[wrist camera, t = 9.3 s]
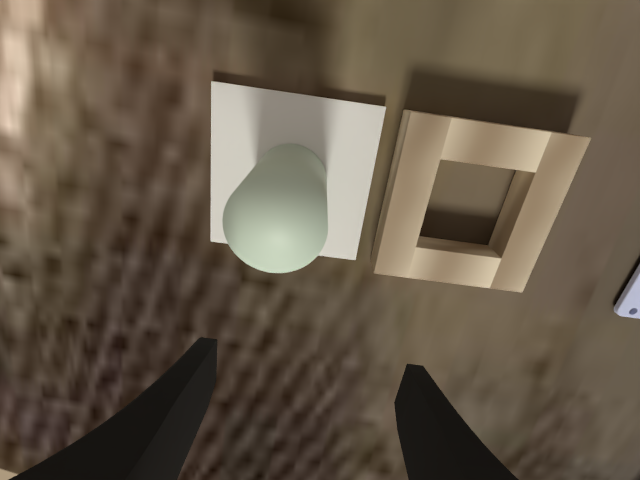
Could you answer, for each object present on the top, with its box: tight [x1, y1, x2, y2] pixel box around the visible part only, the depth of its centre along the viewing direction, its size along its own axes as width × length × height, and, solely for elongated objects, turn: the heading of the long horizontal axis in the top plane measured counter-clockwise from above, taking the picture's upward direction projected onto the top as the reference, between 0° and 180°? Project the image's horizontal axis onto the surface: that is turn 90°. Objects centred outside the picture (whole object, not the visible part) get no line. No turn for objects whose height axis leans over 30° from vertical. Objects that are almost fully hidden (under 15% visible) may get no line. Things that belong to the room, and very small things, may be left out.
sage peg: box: [222, 144, 328, 273], centre depth 16 cm, size 4×4×7 cm
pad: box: [211, 81, 386, 260], centre depth 20 cm, size 9×9×1 cm
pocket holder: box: [371, 109, 591, 292], centre depth 19 cm, size 9×9×2 cm
